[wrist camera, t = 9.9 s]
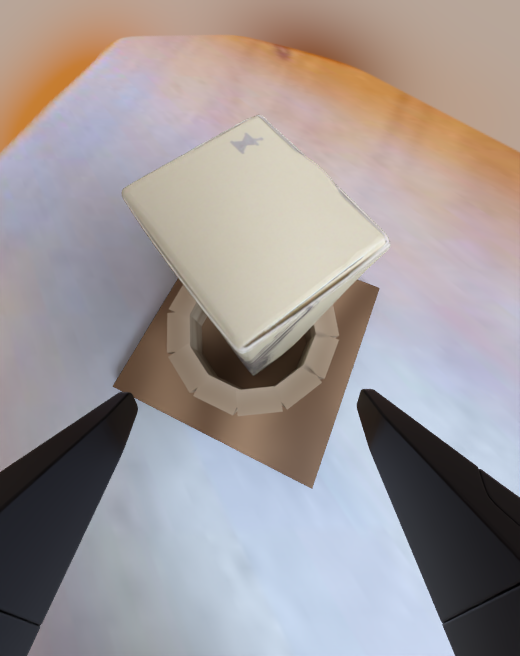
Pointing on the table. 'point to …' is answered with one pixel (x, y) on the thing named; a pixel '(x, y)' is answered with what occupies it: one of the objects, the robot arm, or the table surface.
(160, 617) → the table surface
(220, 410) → the ring socket
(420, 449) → the robot arm
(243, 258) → the box
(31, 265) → the table surface
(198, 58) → the table surface
